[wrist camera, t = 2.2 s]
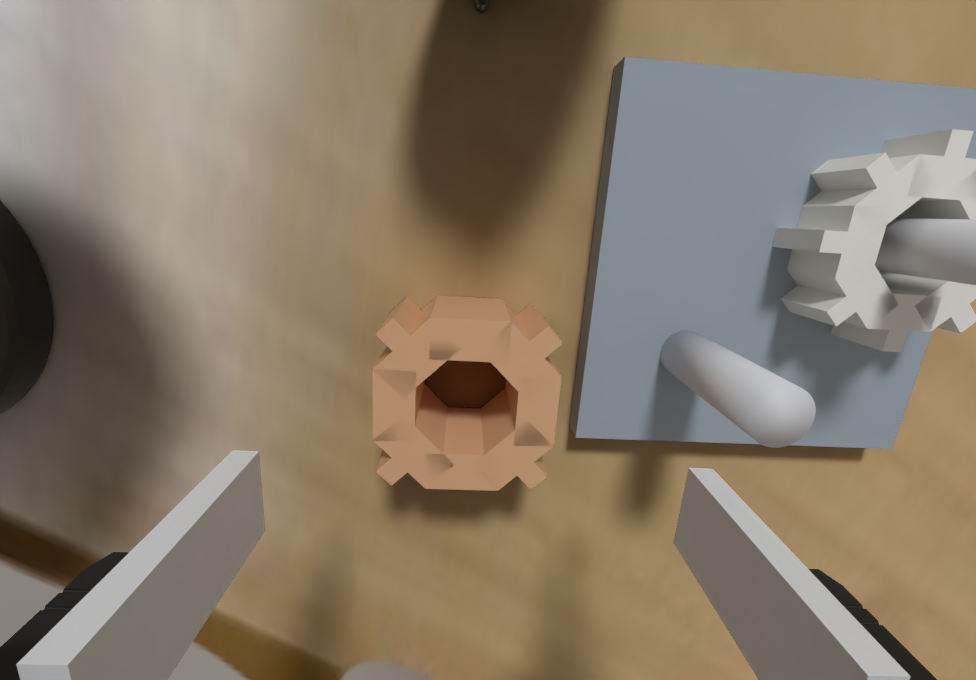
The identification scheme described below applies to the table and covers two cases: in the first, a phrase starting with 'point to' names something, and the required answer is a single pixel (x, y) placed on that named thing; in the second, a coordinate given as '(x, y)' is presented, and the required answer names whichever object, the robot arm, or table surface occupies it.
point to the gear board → (772, 254)
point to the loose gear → (465, 431)
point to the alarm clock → (482, 5)
